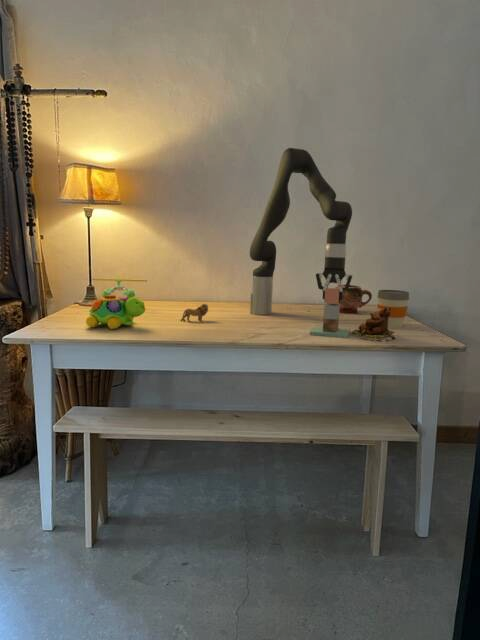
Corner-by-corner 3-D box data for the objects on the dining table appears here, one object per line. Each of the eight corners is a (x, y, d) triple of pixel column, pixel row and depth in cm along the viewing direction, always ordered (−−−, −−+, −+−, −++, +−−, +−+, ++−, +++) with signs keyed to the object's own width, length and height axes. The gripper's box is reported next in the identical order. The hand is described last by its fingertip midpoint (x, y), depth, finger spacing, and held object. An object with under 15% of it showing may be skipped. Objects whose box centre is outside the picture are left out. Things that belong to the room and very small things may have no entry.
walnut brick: (322, 331, 183) (323, 318, 182) (325, 328, 190) (326, 315, 189) (336, 332, 182) (336, 319, 181) (338, 329, 188) (338, 316, 188)
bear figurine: (367, 332, 192) (369, 301, 190) (401, 338, 181) (404, 306, 179) (346, 336, 183) (349, 304, 181) (382, 343, 172) (384, 309, 170)
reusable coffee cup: (390, 331, 194) (393, 294, 191) (368, 325, 205) (371, 290, 202) (412, 329, 200) (416, 293, 197) (390, 323, 211) (393, 289, 208)
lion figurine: (206, 320, 206) (206, 303, 205) (209, 321, 202) (209, 304, 201) (179, 321, 202) (179, 303, 201) (181, 322, 198) (181, 305, 197)
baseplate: (309, 334, 182) (309, 331, 182) (314, 328, 194) (314, 325, 194) (347, 338, 178) (347, 334, 178) (350, 331, 190) (350, 328, 189)
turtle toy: (136, 331, 180) (136, 300, 178) (78, 327, 184) (77, 296, 182) (152, 323, 196) (152, 294, 194) (99, 319, 200) (99, 291, 198)
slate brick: (323, 318, 182) (324, 305, 182) (326, 315, 189) (326, 302, 188) (336, 319, 181) (337, 306, 180) (338, 316, 188) (339, 303, 187)
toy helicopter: (148, 308, 231) (148, 278, 228) (145, 311, 222) (145, 280, 219) (95, 307, 229) (94, 276, 226) (90, 310, 220) (89, 278, 218)
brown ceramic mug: (365, 312, 239) (367, 284, 236) (374, 316, 227) (376, 287, 224) (325, 311, 237) (327, 283, 234) (332, 316, 225) (334, 286, 222)
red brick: (324, 302, 181) (325, 289, 180) (326, 300, 188) (327, 287, 187) (337, 303, 180) (338, 290, 179) (339, 301, 186) (340, 288, 186)
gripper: (314, 255, 179) (312, 301, 182) (354, 257, 175) (350, 303, 178) (317, 254, 186) (315, 298, 189) (355, 256, 182) (352, 301, 185)
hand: (332, 300), depth 184 cm, fingers closed on red brick, 4 cm apart
